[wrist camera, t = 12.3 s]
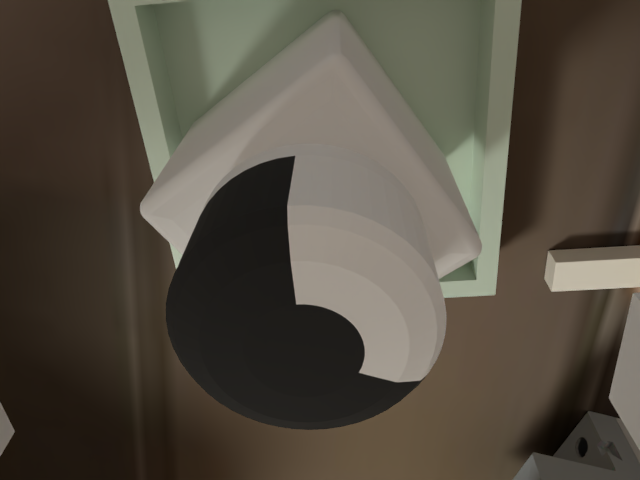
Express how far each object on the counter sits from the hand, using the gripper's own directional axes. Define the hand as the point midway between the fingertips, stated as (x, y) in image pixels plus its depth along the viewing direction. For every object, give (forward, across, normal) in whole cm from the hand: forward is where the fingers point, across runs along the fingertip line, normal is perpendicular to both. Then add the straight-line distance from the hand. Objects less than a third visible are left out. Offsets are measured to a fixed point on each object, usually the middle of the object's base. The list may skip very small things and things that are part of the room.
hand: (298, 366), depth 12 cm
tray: (+13, +1, 0) cm, 13 cm away
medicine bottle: (+12, 0, 0) cm, 12 cm away
